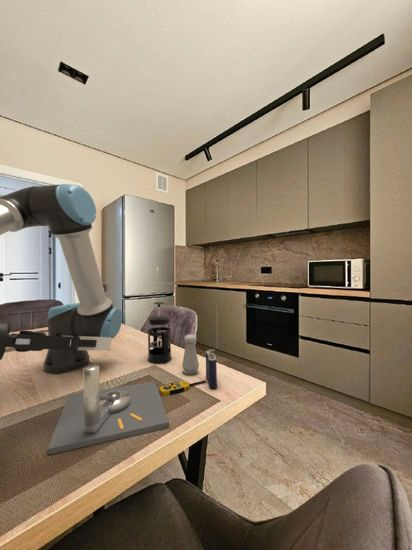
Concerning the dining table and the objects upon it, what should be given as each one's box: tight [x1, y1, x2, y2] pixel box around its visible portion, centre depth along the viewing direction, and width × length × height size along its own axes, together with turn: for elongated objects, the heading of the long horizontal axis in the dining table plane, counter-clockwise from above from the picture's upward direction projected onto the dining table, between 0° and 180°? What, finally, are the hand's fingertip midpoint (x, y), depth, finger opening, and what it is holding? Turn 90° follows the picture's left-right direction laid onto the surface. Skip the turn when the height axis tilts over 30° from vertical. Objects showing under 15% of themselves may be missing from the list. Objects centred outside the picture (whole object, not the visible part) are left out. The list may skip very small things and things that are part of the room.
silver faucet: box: [82, 364, 130, 433], centre depth 60 cm, size 16×8×14 cm, turn 175°
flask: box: [205, 349, 218, 391], centre depth 78 cm, size 9×3×11 cm, turn 8°
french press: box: [147, 301, 173, 365], centre depth 98 cm, size 12×9×23 cm
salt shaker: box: [182, 334, 200, 376], centre depth 86 cm, size 6×6×13 cm
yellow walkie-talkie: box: [158, 379, 207, 397], centre depth 75 cm, size 5×2×15 cm
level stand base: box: [47, 380, 170, 455], centre depth 63 cm, size 22×24×1 cm
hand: (99, 343), depth 58 cm, fingers open, 13 cm apart
